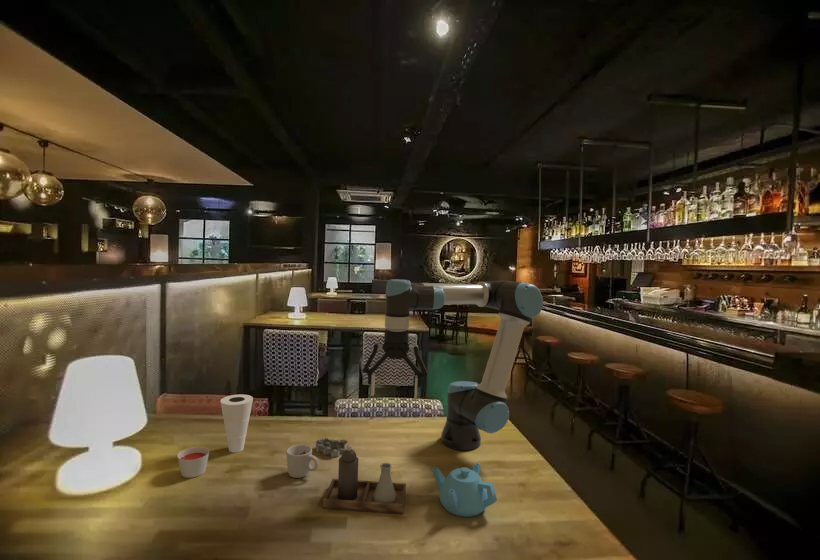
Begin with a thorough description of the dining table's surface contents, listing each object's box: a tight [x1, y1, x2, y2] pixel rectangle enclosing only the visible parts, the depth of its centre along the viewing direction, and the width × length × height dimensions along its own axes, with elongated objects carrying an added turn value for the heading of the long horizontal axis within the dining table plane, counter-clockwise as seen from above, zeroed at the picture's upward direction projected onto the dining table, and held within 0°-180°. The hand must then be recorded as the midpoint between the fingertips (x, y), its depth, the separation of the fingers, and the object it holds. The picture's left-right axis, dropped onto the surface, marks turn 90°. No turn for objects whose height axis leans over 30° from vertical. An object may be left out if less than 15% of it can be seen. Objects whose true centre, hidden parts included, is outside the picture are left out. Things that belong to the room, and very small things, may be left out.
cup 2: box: [220, 394, 254, 453], centre depth 154 cm, size 11×11×18 cm
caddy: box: [322, 478, 407, 515], centre depth 127 cm, size 22×12×2 cm, turn 87°
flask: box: [372, 462, 397, 503], centre depth 127 cm, size 7×7×10 cm
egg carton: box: [314, 437, 348, 458], centre depth 157 cm, size 11×8×4 cm
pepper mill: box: [337, 444, 359, 501], centre depth 127 cm, size 6×6×15 cm
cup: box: [285, 444, 319, 479], centre depth 139 cm, size 11×8×8 cm
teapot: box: [431, 462, 498, 518], centre depth 126 cm, size 15×15×11 cm
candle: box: [177, 446, 210, 479], centre depth 138 cm, size 9×9×6 cm
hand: (394, 395), depth 138 cm, fingers open, 13 cm apart
